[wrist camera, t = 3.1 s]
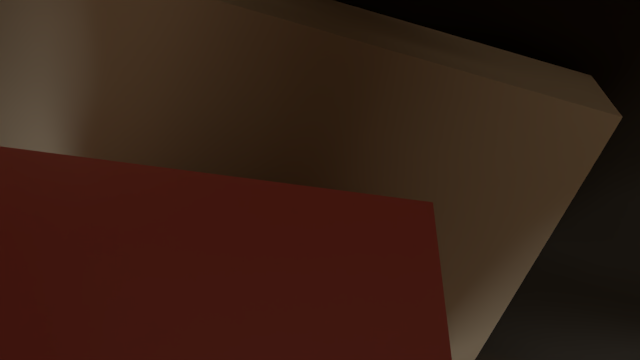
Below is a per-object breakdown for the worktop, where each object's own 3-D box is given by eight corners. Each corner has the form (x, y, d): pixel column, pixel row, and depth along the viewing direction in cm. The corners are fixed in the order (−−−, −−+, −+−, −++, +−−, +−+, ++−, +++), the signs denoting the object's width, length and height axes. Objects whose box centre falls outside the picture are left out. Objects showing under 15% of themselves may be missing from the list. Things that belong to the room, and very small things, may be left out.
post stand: (-10, 308, 14) (-267, 642, 8) (-33, -107, 9) (-675, 38, 4) (405, 411, 14) (419, 783, 9) (591, 75, 10) (862, 437, 4)
